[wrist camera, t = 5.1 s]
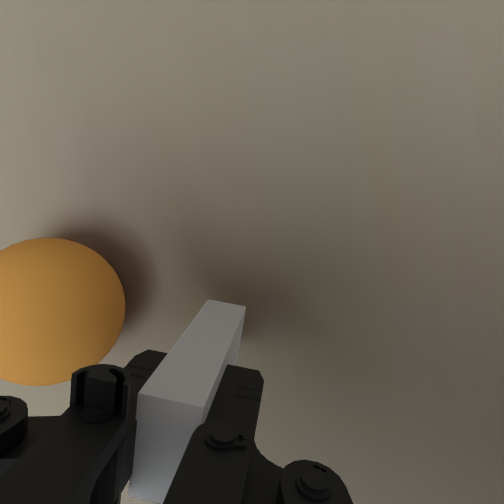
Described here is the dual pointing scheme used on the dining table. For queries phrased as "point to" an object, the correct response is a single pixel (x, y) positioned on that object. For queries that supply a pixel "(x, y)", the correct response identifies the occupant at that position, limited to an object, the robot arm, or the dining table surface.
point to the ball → (55, 310)
